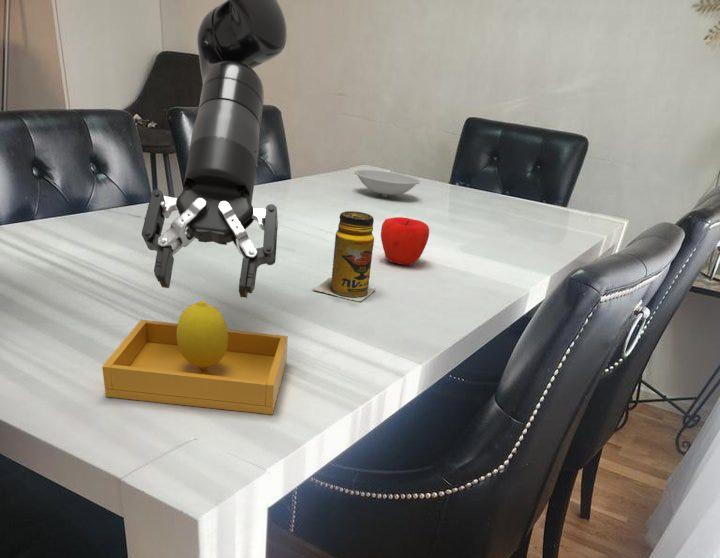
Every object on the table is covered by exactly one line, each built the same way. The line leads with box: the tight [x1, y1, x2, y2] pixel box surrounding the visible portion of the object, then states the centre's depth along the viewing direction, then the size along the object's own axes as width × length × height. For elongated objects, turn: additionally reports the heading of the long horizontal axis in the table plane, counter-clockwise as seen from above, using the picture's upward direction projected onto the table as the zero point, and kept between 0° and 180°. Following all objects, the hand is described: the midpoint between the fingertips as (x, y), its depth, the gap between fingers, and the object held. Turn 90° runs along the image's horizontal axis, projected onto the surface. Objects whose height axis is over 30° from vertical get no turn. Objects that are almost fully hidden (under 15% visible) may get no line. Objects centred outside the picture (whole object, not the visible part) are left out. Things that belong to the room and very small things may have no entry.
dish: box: [354, 169, 421, 198], centre depth 172 cm, size 18×14×5 cm
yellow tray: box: [101, 319, 289, 415], centre depth 73 cm, size 18×14×4 cm
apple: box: [380, 216, 430, 266], centre depth 120 cm, size 9×9×8 cm
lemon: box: [177, 300, 228, 370], centre depth 72 cm, size 6×6×8 cm
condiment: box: [311, 210, 377, 302], centre depth 102 cm, size 7×8×12 cm
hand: (203, 289), depth 70 cm, fingers open, 8 cm apart
